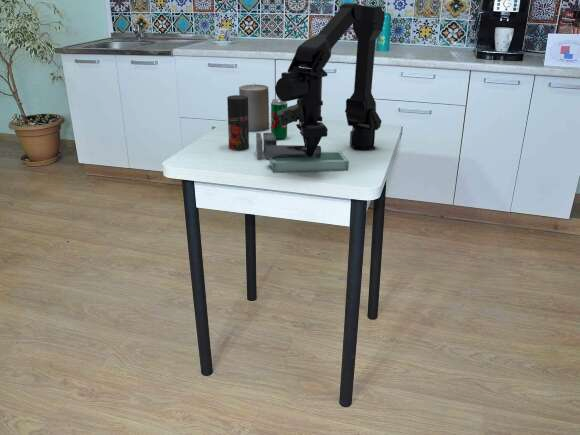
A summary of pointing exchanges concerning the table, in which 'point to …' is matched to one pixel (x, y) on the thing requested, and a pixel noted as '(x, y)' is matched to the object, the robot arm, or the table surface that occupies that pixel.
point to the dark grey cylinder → (291, 151)
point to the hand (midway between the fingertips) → (308, 154)
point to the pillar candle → (257, 106)
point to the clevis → (264, 143)
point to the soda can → (276, 126)
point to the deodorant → (238, 122)
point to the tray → (311, 163)
